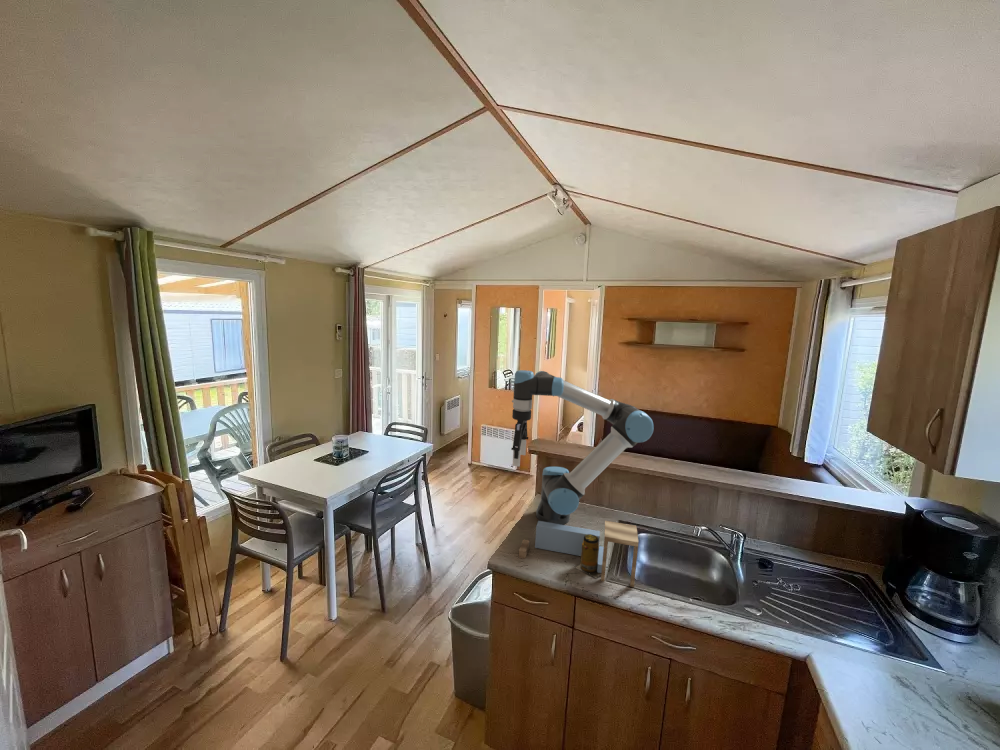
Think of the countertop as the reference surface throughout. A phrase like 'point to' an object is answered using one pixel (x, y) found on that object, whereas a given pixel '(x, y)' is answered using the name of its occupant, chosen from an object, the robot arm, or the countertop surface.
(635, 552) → the shelf
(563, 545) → the crook
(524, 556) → the wooden block
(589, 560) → the condiment
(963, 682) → the countertop surface
